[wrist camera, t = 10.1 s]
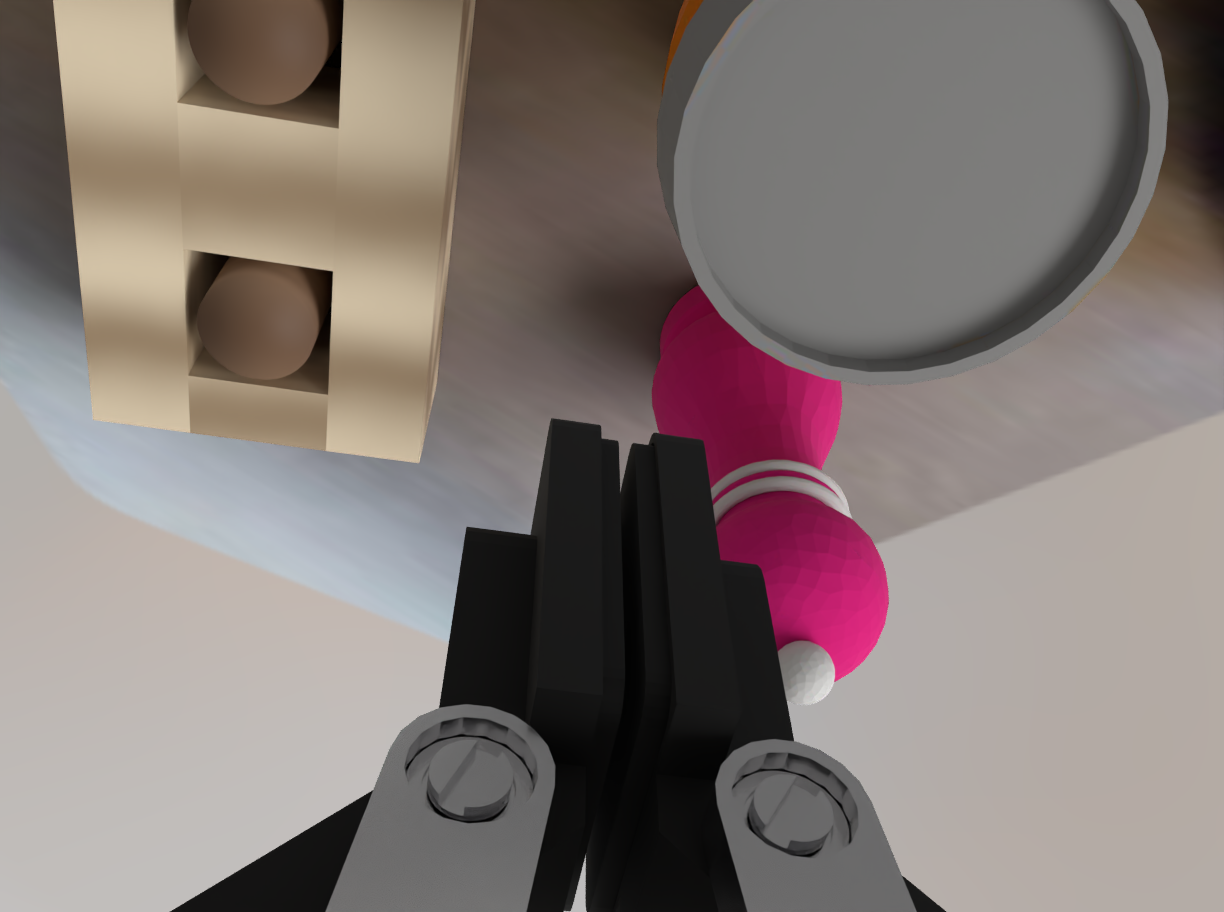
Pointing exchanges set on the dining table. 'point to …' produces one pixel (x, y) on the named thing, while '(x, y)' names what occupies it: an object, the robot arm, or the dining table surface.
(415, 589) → the dining table surface
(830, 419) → the pepper mill
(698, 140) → the reusable coffee cup
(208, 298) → the far walnut peg
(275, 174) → the oak socket block
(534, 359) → the dining table surface
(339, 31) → the near walnut peg
